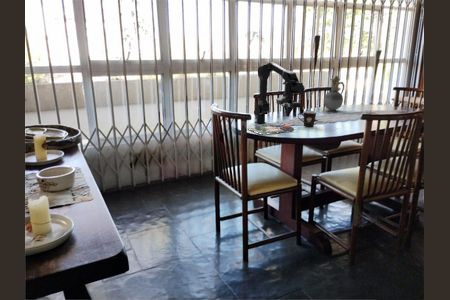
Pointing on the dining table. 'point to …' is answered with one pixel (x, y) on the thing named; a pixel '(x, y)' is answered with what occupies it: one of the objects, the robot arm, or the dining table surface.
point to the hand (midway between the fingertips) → (287, 116)
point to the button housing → (287, 129)
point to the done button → (286, 126)
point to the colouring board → (267, 130)
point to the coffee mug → (308, 118)
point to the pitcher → (334, 96)
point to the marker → (260, 128)
